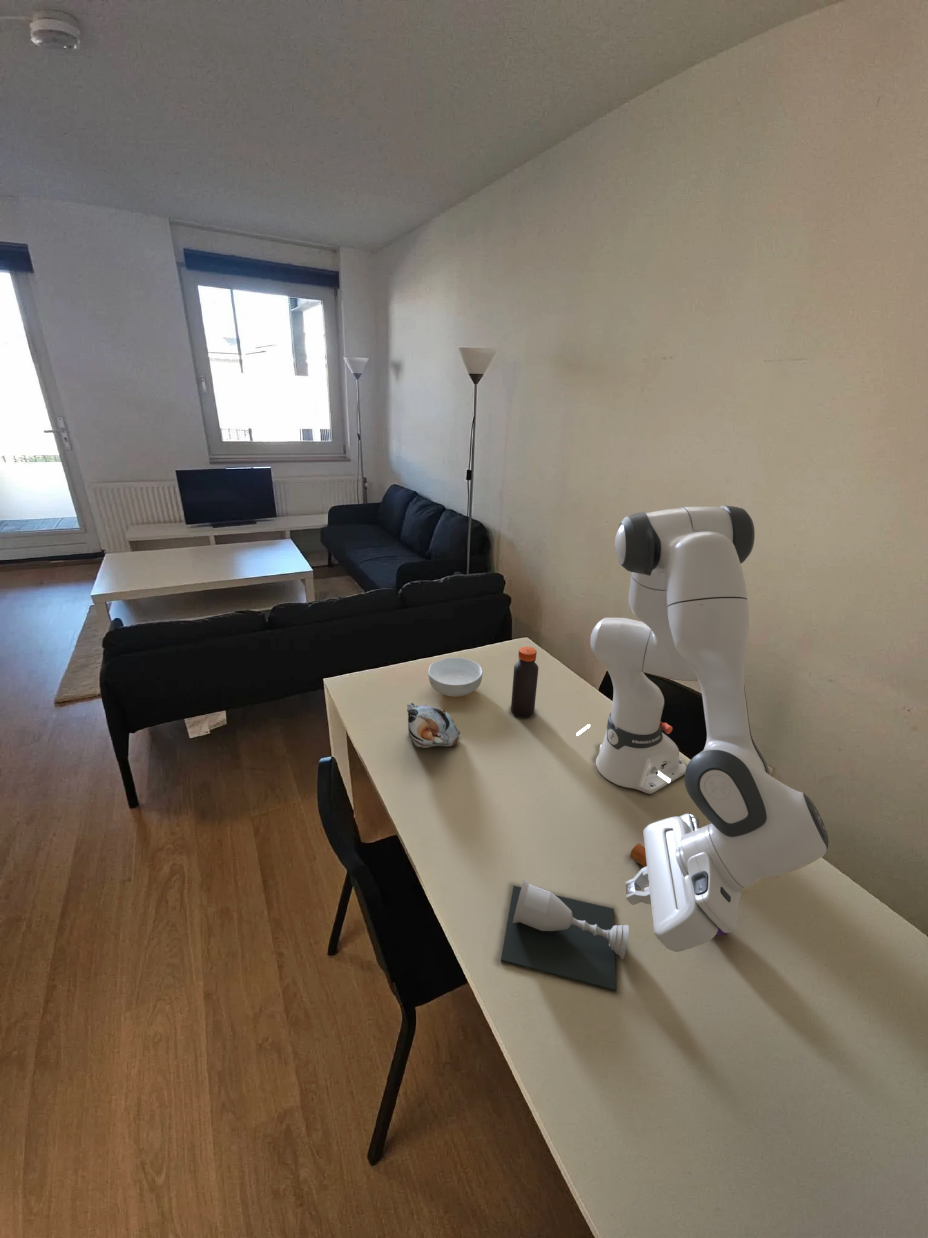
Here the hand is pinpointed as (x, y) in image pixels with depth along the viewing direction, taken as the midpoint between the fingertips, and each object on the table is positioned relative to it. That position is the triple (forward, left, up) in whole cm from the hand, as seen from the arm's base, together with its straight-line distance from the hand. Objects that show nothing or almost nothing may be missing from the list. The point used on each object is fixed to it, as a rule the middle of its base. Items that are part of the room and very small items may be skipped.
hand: (628, 893), depth 79 cm
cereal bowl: (-5, -85, -13) cm, 86 cm away
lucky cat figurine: (+10, -63, -13) cm, 65 cm away
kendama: (-17, -4, -13) cm, 22 cm away
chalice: (-1, +1, -10) cm, 10 cm away
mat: (+7, -5, -13) cm, 16 cm away
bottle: (-19, -67, -13) cm, 71 cm away
